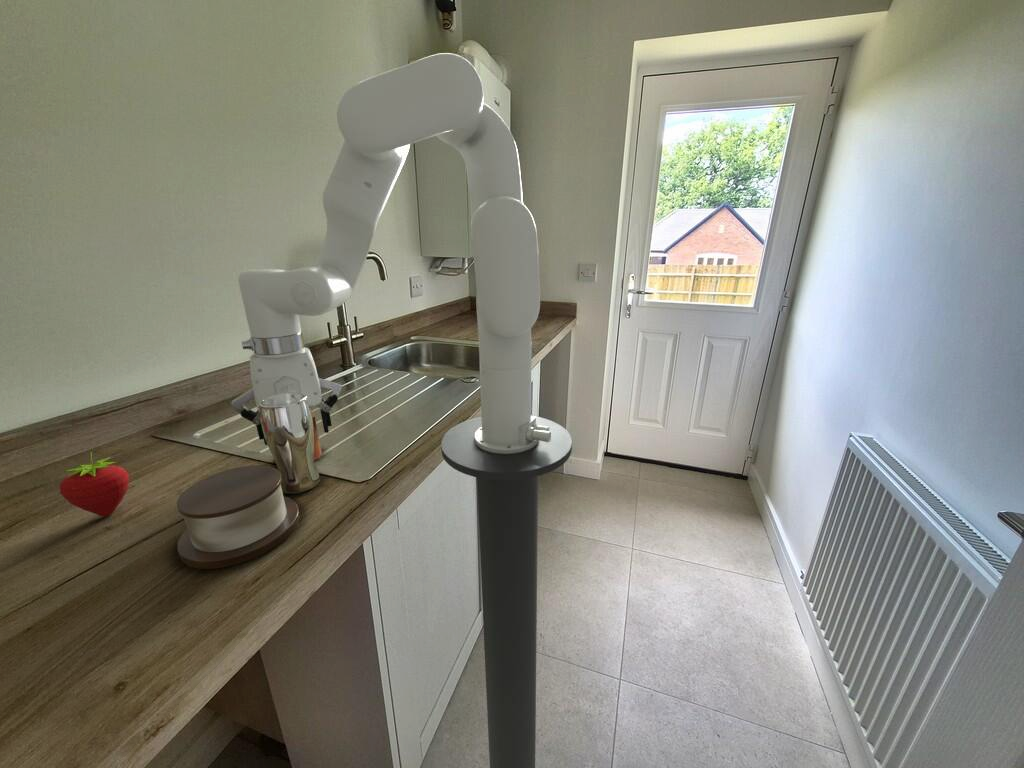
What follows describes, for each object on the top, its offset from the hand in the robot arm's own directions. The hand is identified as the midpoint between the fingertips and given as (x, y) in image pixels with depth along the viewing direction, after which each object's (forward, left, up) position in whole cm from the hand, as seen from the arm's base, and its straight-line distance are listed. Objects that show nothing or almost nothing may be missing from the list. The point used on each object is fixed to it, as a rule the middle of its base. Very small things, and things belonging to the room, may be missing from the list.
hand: (297, 435), depth 75 cm
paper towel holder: (-11, +18, -4) cm, 21 cm away
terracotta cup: (0, 0, -4) cm, 4 cm away
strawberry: (+11, +24, -5) cm, 27 cm away
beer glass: (-8, +7, -5) cm, 11 cm away
